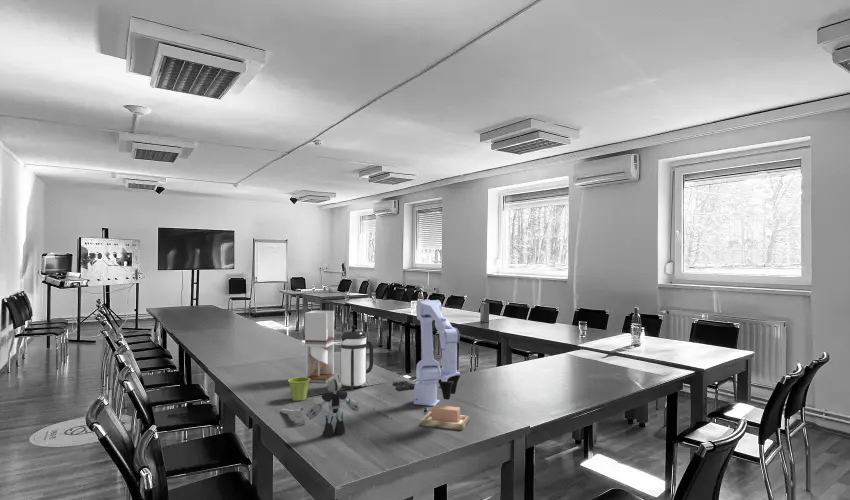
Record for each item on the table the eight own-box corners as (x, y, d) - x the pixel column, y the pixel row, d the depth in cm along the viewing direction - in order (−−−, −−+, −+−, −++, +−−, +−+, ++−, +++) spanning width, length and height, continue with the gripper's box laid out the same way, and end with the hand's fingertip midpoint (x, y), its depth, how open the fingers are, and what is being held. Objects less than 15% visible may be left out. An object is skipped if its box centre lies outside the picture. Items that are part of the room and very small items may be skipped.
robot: (308, 441, 156) (308, 381, 156) (304, 437, 160) (304, 378, 160) (362, 431, 165) (362, 374, 166) (357, 426, 170) (357, 372, 170)
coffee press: (368, 390, 218) (368, 326, 219) (335, 390, 218) (335, 326, 219) (373, 381, 235) (373, 322, 236) (342, 381, 236) (342, 322, 236)
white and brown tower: (304, 381, 235) (305, 312, 236) (313, 376, 245) (313, 310, 246) (326, 382, 233) (326, 313, 234) (333, 377, 243) (334, 310, 244)
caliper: (304, 425, 172) (304, 408, 172) (301, 426, 171) (302, 408, 172) (283, 411, 188) (283, 395, 188) (280, 412, 188) (280, 396, 188)
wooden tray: (420, 425, 171) (420, 419, 171) (429, 416, 181) (429, 411, 181) (462, 430, 166) (462, 424, 166) (469, 421, 175) (469, 415, 176)
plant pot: (283, 401, 202) (283, 381, 202) (297, 395, 211) (297, 376, 211) (301, 403, 198) (301, 383, 199) (314, 397, 207) (314, 378, 207)
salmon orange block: (431, 421, 173) (431, 407, 173) (434, 418, 177) (434, 404, 177) (457, 424, 170) (457, 410, 170) (460, 420, 174) (460, 407, 174)
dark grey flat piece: (453, 390, 224) (453, 383, 224) (407, 394, 212) (407, 386, 212) (432, 382, 241) (432, 375, 241) (389, 385, 229) (389, 378, 229)
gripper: (454, 365, 168) (454, 402, 168) (464, 357, 182) (464, 392, 182) (436, 363, 171) (436, 400, 170) (447, 356, 184) (447, 390, 184)
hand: (449, 396), depth 176 cm, fingers open, 7 cm apart
